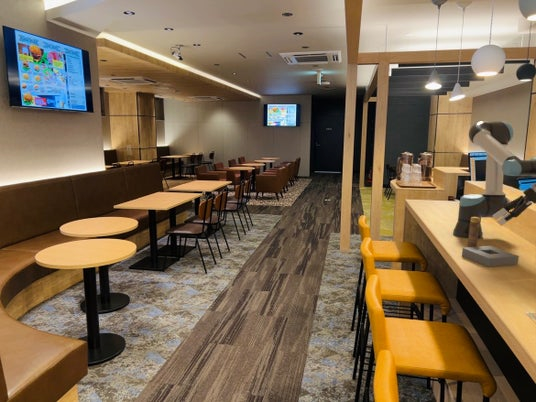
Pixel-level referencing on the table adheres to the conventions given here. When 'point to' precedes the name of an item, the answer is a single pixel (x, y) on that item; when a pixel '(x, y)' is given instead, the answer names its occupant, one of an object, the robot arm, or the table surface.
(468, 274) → the table surface
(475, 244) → the yellow capped peg
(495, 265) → the socket plate
